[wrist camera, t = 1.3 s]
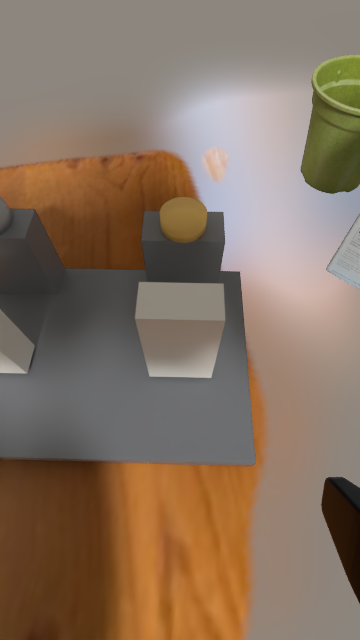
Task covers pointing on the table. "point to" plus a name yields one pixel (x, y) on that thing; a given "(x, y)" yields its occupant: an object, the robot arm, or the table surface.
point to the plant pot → (334, 127)
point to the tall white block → (180, 327)
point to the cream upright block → (13, 347)
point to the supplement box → (348, 257)
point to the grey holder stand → (118, 351)
